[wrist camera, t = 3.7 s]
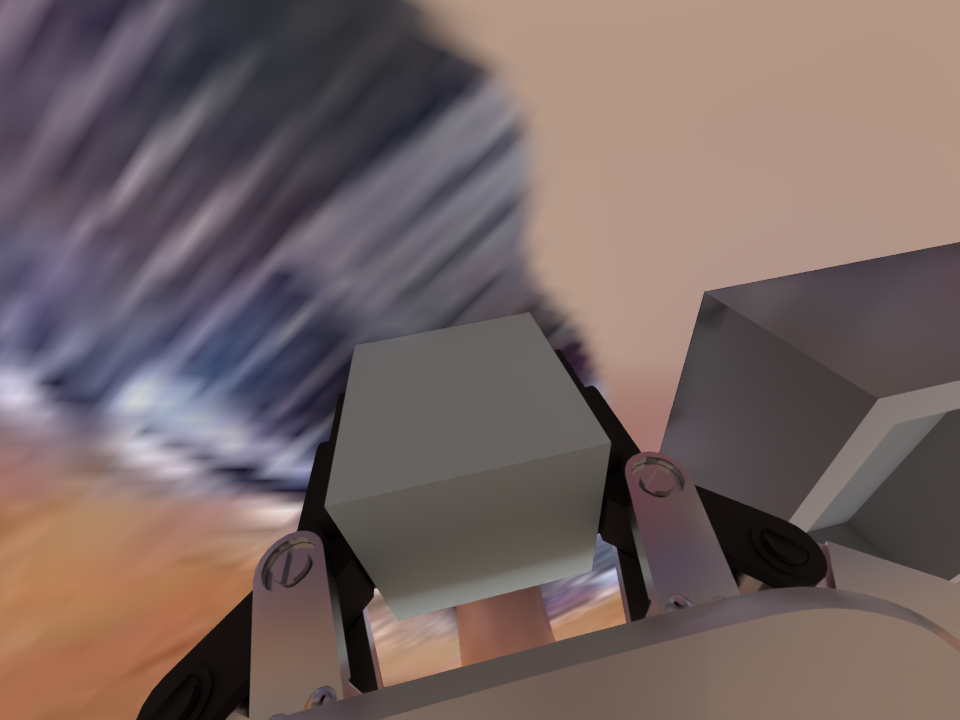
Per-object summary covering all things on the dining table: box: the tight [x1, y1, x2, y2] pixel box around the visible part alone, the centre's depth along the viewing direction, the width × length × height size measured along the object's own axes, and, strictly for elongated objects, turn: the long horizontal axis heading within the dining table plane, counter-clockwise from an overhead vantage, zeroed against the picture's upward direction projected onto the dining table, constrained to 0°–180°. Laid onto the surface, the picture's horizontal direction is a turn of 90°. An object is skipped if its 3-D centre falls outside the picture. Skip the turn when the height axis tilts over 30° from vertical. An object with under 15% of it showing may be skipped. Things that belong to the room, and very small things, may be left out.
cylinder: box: [455, 585, 555, 667], centre depth 18 cm, size 5×5×7 cm
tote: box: [659, 242, 960, 584], centre depth 15 cm, size 18×14×5 cm
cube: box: [324, 312, 611, 620], centre depth 10 cm, size 5×5×5 cm
